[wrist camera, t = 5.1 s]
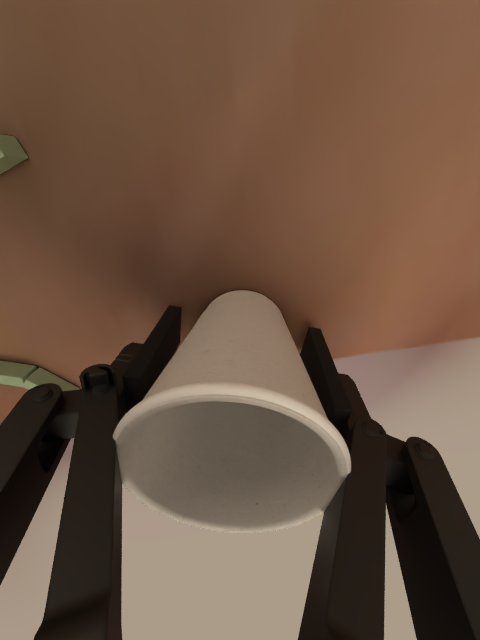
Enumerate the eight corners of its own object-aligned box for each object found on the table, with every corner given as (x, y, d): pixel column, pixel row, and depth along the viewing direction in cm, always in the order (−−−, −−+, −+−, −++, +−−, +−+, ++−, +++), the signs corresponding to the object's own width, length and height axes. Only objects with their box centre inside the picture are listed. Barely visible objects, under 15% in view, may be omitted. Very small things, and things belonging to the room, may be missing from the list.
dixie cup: (163, 343, 19) (81, 491, 10) (218, 242, 15) (163, 342, 6) (260, 391, 20) (262, 552, 12) (332, 312, 17) (412, 465, 8)
